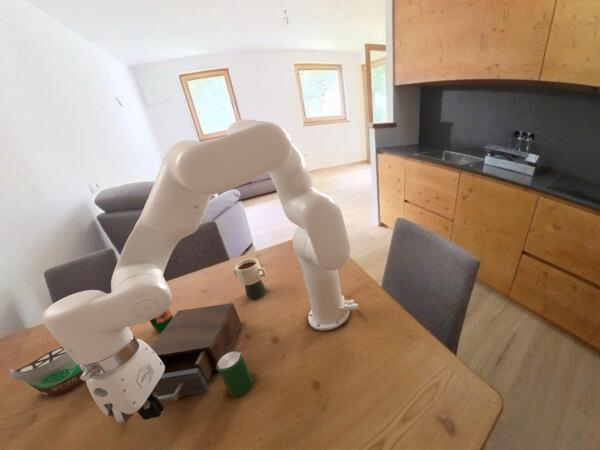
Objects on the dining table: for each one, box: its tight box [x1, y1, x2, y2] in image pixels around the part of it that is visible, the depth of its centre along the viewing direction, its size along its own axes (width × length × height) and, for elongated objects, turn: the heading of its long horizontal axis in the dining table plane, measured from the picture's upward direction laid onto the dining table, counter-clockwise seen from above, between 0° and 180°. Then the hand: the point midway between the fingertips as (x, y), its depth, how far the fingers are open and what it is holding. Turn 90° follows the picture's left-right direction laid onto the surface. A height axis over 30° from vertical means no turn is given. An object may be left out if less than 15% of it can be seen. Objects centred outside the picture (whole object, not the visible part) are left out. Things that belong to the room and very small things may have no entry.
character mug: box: [232, 257, 267, 300], centre depth 95 cm, size 11×7×13 cm, turn 88°
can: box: [216, 350, 253, 397], centre depth 65 cm, size 5×5×9 cm
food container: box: [9, 346, 85, 397], centre depth 68 cm, size 12×6×10 cm, turn 148°
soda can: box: [149, 307, 174, 333], centre depth 83 cm, size 5×5×12 cm
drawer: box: [155, 350, 215, 404], centre depth 68 cm, size 18×14×7 cm
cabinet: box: [150, 302, 243, 373], centre depth 75 cm, size 16×15×9 cm
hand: (154, 413), depth 58 cm, fingers closed
